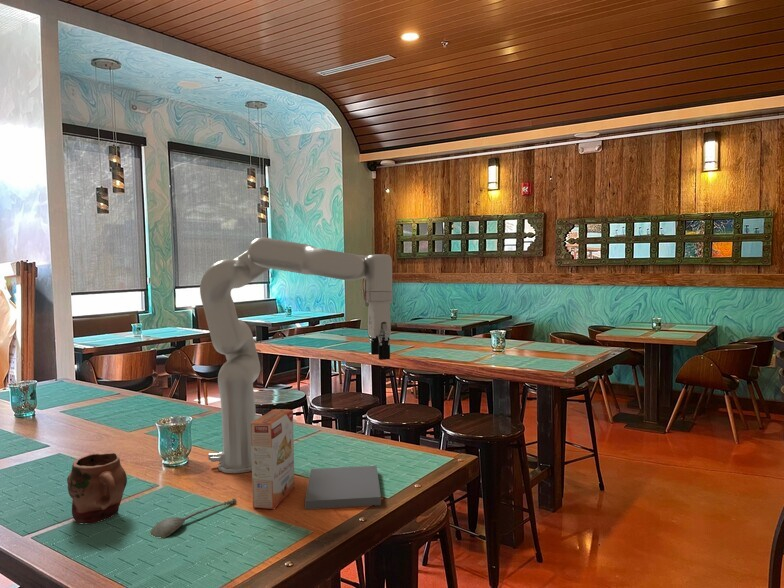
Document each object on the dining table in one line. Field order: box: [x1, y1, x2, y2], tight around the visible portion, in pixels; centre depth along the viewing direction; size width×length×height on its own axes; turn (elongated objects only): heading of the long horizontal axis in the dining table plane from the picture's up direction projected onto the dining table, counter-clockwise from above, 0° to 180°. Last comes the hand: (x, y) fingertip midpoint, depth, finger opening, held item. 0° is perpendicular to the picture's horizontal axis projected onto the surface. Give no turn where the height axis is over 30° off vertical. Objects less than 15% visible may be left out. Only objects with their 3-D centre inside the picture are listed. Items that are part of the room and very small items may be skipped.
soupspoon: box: [149, 497, 237, 539], centre depth 136 cm, size 22×3×7 cm
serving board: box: [304, 465, 382, 510], centre depth 151 cm, size 18×22×2 cm
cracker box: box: [251, 408, 296, 510], centre depth 146 cm, size 14×6×21 cm, turn 168°
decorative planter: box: [66, 452, 128, 524], centre depth 137 cm, size 20×12×14 cm, turn 51°
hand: (380, 356), depth 169 cm, fingers open, 9 cm apart
